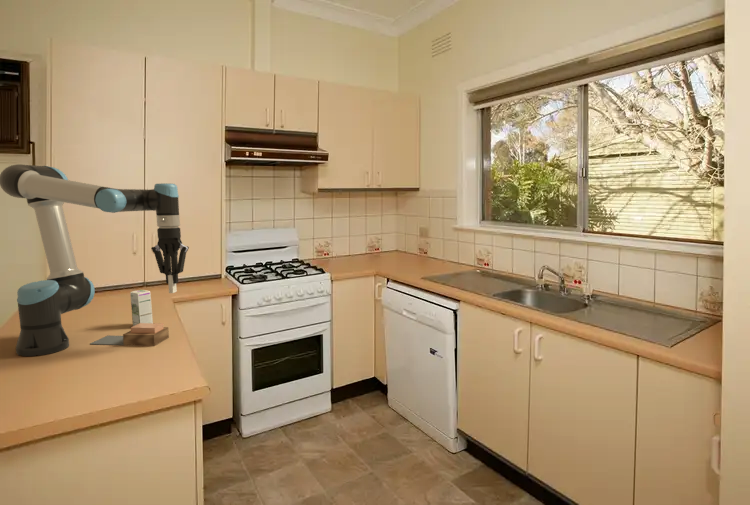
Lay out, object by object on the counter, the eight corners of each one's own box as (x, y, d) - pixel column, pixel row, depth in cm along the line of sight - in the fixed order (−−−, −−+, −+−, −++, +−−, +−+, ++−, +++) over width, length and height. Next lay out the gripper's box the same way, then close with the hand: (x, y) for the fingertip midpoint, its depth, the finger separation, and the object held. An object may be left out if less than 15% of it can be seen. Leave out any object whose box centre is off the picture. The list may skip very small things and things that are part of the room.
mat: (89, 344, 168) (89, 343, 168) (107, 336, 178) (107, 335, 178) (124, 345, 167) (124, 344, 167) (140, 336, 177) (140, 336, 177)
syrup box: (153, 324, 194) (151, 290, 192) (139, 328, 189) (137, 293, 187) (145, 322, 197) (143, 289, 195) (131, 326, 192) (129, 291, 190)
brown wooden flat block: (123, 345, 167) (123, 334, 167) (139, 336, 177) (138, 326, 177) (154, 345, 167) (153, 335, 166) (168, 337, 176) (168, 327, 176)
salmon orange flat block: (130, 332, 169) (130, 327, 168) (140, 328, 175) (140, 323, 174) (154, 333, 168) (154, 328, 168) (163, 328, 174) (163, 323, 174)
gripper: (145, 228, 163) (149, 294, 165) (181, 227, 162) (185, 294, 165) (156, 226, 170) (161, 290, 173) (191, 226, 169) (195, 290, 172)
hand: (172, 292), depth 169 cm, fingers closed
